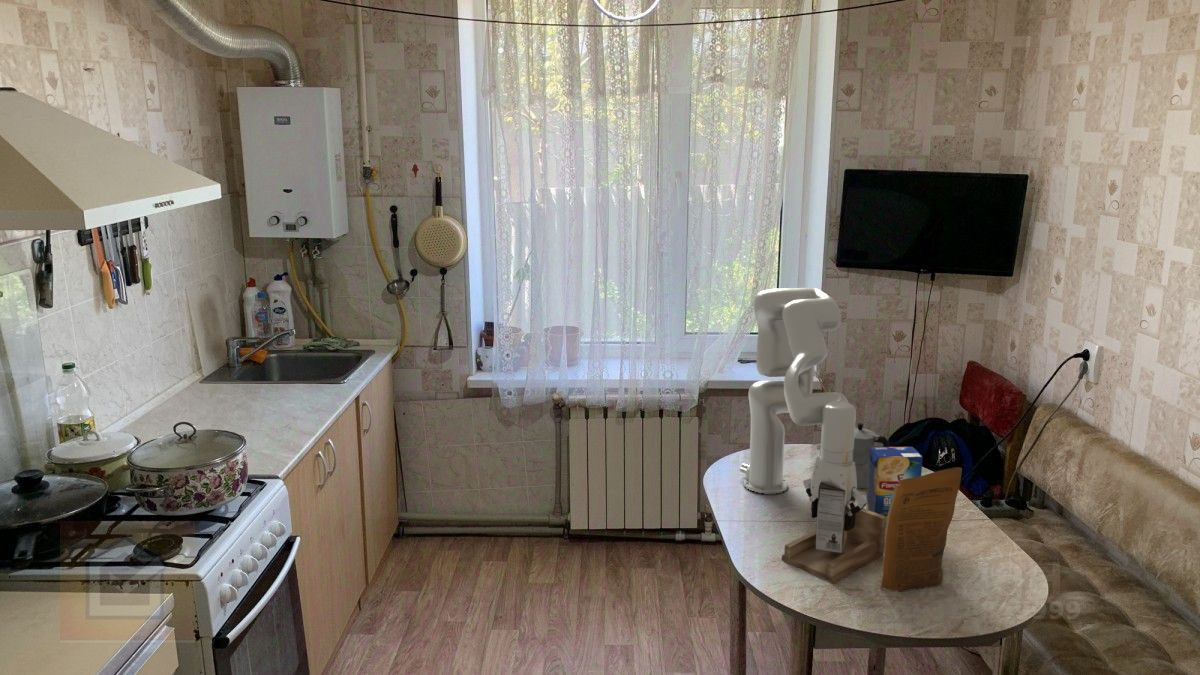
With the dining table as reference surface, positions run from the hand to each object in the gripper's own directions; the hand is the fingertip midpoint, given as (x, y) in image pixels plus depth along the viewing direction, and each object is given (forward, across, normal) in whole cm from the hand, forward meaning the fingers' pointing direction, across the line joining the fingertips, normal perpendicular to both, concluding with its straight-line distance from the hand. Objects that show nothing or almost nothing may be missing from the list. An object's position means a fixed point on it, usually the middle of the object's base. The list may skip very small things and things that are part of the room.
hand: (832, 522), depth 213 cm
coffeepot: (+10, -21, +45) cm, 51 cm away
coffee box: (+6, 0, 0) cm, 6 cm away
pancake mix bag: (+10, +20, +4) cm, 23 cm away
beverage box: (+10, +2, +23) cm, 25 cm away
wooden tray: (+10, 0, +1) cm, 10 cm away
